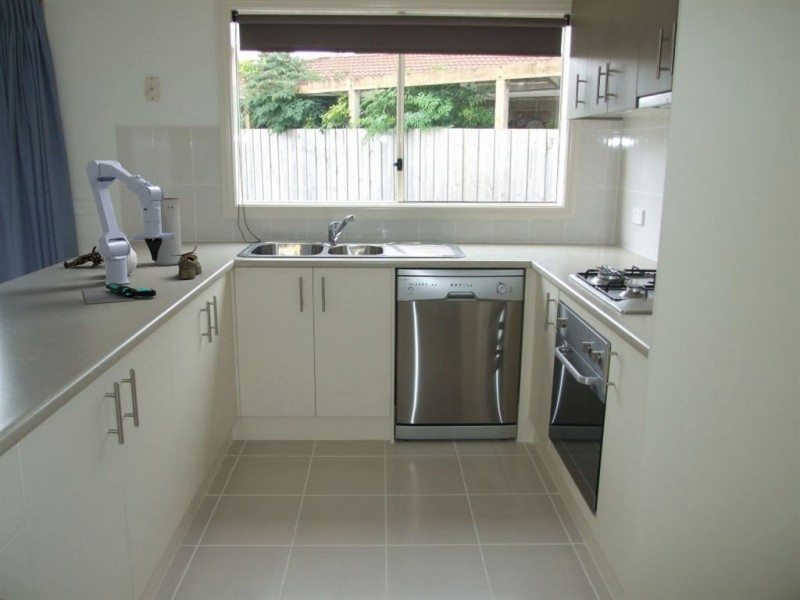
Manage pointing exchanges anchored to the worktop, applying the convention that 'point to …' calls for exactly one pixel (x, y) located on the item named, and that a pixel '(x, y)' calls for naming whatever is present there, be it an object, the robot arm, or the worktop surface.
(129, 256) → the decorative ball
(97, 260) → the figurine
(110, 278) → the robot arm
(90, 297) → the mat
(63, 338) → the worktop surface
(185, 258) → the hiking shoe
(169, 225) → the vase
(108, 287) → the toy gun
